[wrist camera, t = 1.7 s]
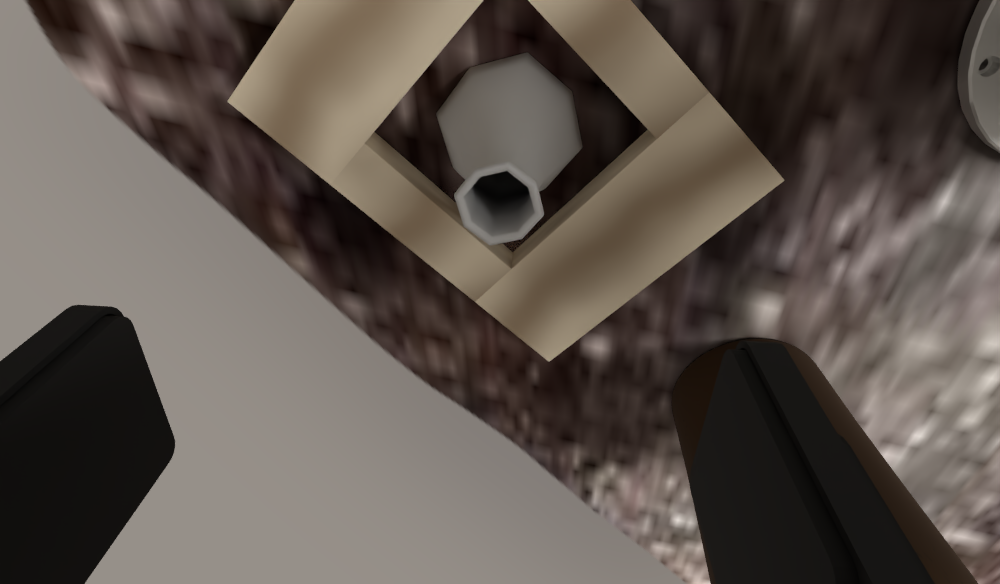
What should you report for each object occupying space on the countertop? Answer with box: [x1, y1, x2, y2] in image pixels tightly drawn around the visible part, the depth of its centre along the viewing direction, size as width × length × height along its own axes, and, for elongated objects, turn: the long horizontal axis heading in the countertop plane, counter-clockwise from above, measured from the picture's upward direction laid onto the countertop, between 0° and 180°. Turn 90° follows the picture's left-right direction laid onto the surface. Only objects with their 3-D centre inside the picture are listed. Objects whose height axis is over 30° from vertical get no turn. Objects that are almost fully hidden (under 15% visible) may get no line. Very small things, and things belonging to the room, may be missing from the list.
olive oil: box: [672, 339, 978, 584], centre depth 27 cm, size 11×11×25 cm
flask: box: [436, 52, 583, 246], centre depth 26 cm, size 7×7×10 cm
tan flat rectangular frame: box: [227, 0, 784, 362], centre depth 29 cm, size 22×16×2 cm
